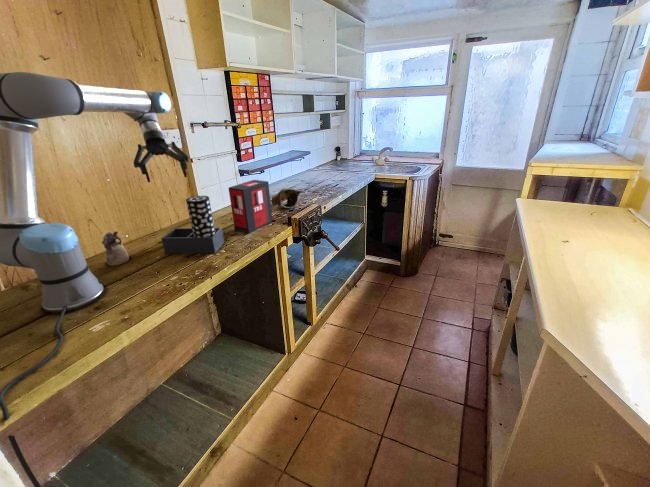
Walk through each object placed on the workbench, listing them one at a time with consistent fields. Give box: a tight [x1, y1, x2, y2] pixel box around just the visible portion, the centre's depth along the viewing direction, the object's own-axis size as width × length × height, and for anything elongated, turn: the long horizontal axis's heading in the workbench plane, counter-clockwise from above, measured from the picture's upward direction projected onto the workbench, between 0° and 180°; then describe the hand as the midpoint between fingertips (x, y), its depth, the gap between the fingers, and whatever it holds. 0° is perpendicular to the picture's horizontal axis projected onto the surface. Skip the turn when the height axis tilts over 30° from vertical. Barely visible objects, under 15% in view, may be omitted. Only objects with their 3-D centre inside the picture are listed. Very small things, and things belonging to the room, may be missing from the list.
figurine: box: [101, 230, 130, 267], centre depth 117 cm, size 7×7×12 cm
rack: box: [160, 227, 225, 254], centre depth 127 cm, size 11×20×7 cm, turn 87°
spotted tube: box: [185, 195, 216, 237], centre depth 124 cm, size 8×8×20 cm
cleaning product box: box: [228, 179, 273, 234], centre depth 146 cm, size 16×9×20 cm, turn 149°
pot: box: [271, 187, 303, 209], centre depth 177 cm, size 17×11×18 cm
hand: (167, 177), depth 124 cm, fingers open, 13 cm apart
